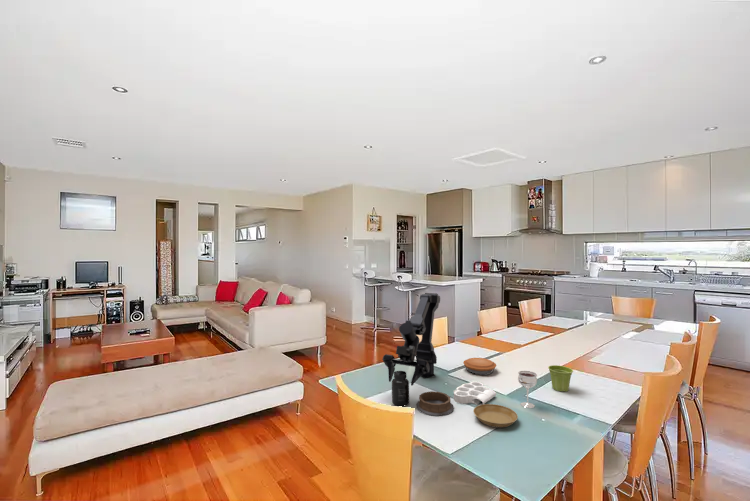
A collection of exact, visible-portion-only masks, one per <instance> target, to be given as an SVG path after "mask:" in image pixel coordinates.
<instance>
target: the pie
mask: <svg viewBox="0 0 750 501" xmlns="http://www.w3.org/2000/svg"><path fill="white" fill-rule="evenodd" d="M462 363H463V365H464V367H465V368H466V369H467V371H468V372H469V371H470V372H469V373H471V372H472V373H471V374H473V373H475V374H474V375H478V374H481V376H487V375H490V374H492V373H493V371H494V369H495V368H496V367H497V363H496V362H494V361H492V360H491V359H488V358H484V357H483V358H482V357H470V358H467V359H465V360H464V361H463V362H462ZM486 374H487V375H486Z"/></svg>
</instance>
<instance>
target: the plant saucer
mask: <svg viewBox="0 0 750 501" xmlns="http://www.w3.org/2000/svg"><path fill="white" fill-rule="evenodd" d="M472 412H473V414H474V415H475V417H476V418H477V419H478V420H479V421H480V422H481V423H482V424H484V425H487V426H489V427H493V428H508V427H509V426H511V425H513V424H514V423H515V422H516V421H517V420H518V418H519V417H518V413H517V412H516V411H515V410H513V409H512V408H509V407H506V406H504V405H500V404H493V403H485V404H483V405H480V404H478V405H477V406H475V407H474V408H473V411H472Z"/></svg>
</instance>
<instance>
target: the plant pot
mask: <svg viewBox="0 0 750 501" xmlns="http://www.w3.org/2000/svg"><path fill="white" fill-rule="evenodd" d="M547 369H548V371H549V374H550V381H551V388H552V389H553V390H555V391H557V392H569V390H570V383H571V377H572V375H573V373H574V370H573V369H572V368H570V367H567V366H564V365H558V364H555V365H554V364H553V365H548V366H547Z"/></svg>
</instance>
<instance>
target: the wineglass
mask: <svg viewBox="0 0 750 501" xmlns="http://www.w3.org/2000/svg"><path fill="white" fill-rule="evenodd" d="M537 377H538V374H537V373H536V372H533V371H530V370H520V371H518V377H517V380H518V382H519V384H520V385H521V387H524V388H525V389H526V401H524V402H521V403H520V406H521V407H524V408H527V409H534V408H535V404H534V403H532V402H529V392H530V389H531V388H534V387H535V386H536V385H537V383H538V378H537Z"/></svg>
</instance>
